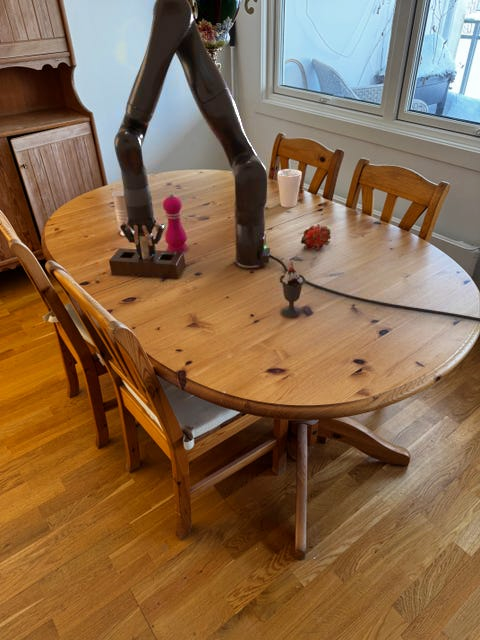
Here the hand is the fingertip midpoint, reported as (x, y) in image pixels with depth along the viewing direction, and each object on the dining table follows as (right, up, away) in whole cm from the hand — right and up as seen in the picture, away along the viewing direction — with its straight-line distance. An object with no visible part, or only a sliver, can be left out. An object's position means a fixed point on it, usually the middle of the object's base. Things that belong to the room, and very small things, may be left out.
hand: (146, 254), depth 143 cm
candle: (-12, +12, +28) cm, 32 cm away
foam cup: (+49, +27, +47) cm, 73 cm away
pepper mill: (+7, +3, +15) cm, 17 cm away
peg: (0, -3, +2) cm, 3 cm away
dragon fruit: (+54, +4, +13) cm, 56 cm away
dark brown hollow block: (0, -5, +3) cm, 5 cm away
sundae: (+42, -18, -18) cm, 50 cm away
